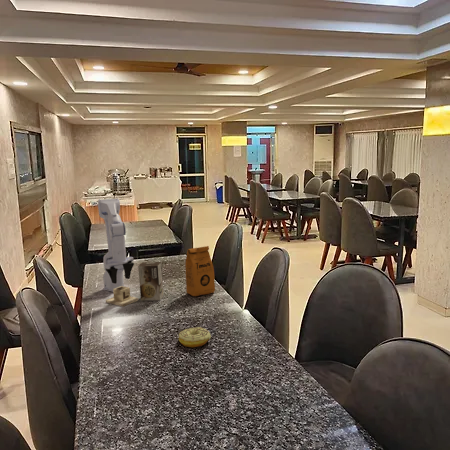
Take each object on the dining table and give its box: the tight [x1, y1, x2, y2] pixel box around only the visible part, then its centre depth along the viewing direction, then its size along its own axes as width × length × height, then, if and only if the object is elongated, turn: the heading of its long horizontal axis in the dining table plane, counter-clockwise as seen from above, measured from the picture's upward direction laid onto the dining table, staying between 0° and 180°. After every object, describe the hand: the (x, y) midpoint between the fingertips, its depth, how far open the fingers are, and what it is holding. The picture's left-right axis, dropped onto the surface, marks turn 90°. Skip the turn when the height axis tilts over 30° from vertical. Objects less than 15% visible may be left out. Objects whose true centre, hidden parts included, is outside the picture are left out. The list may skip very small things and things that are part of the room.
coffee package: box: [184, 245, 216, 297], centre depth 186 cm, size 10×12×22 cm
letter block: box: [112, 285, 131, 302], centre depth 180 cm, size 5×5×5 cm
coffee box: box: [137, 261, 164, 302], centre depth 182 cm, size 9×6×16 cm
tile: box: [105, 295, 139, 308], centre depth 181 cm, size 11×9×1 cm
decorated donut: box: [178, 326, 212, 348], centre depth 139 cm, size 10×11×4 cm
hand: (121, 280), depth 179 cm, fingers open, 7 cm apart
